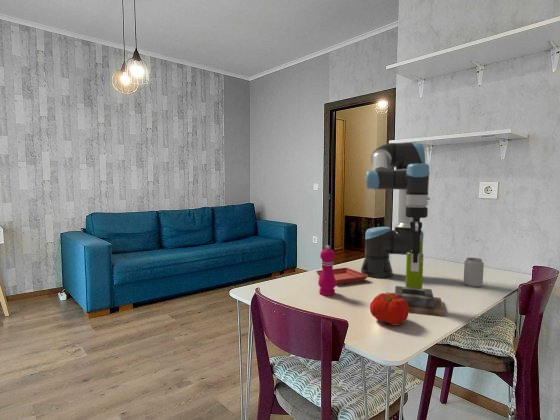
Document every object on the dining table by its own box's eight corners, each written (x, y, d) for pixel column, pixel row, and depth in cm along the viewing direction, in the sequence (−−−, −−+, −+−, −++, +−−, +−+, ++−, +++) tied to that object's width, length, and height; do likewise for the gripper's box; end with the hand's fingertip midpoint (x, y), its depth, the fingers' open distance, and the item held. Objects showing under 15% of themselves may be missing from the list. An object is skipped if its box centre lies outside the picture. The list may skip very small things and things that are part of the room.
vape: (419, 289, 129) (421, 234, 128) (403, 286, 134) (405, 233, 132) (424, 287, 132) (426, 233, 130) (408, 284, 136) (410, 232, 135)
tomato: (365, 314, 124) (365, 290, 124) (400, 314, 125) (401, 290, 124) (375, 329, 112) (376, 302, 111) (415, 329, 112) (416, 302, 111)
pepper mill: (324, 297, 142) (325, 247, 140) (314, 292, 148) (315, 244, 147) (339, 294, 145) (340, 246, 144) (329, 290, 152) (330, 243, 150)
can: (466, 281, 165) (468, 256, 164) (484, 285, 160) (486, 258, 159) (461, 285, 160) (462, 258, 159) (479, 288, 155) (480, 261, 154)
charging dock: (384, 309, 129) (384, 295, 129) (386, 295, 144) (386, 283, 144) (445, 316, 123) (445, 302, 122) (440, 301, 138) (440, 288, 137)
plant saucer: (315, 277, 174) (315, 270, 173) (346, 273, 181) (346, 267, 180) (335, 287, 157) (335, 279, 157) (369, 282, 164) (369, 275, 164)
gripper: (429, 208, 121) (427, 276, 123) (426, 205, 138) (424, 264, 140) (406, 207, 123) (403, 274, 125) (405, 204, 140) (403, 263, 142)
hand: (414, 269), depth 132 cm, fingers closed on vape, 5 cm apart
